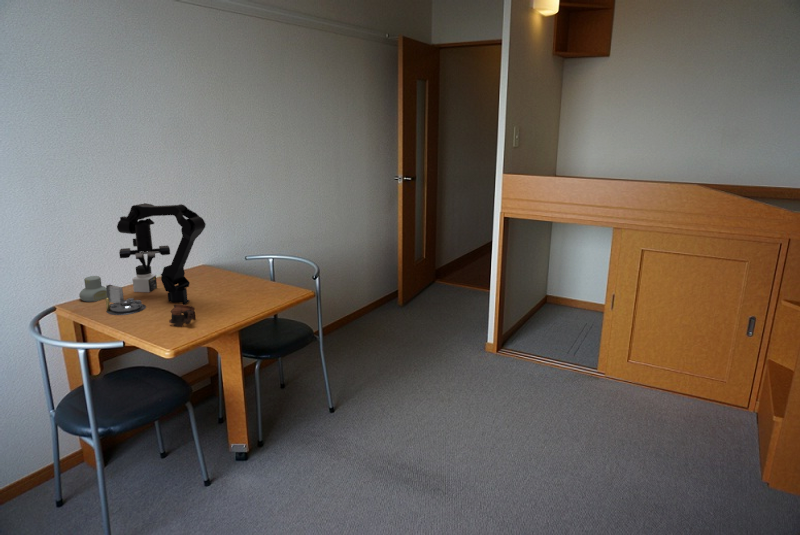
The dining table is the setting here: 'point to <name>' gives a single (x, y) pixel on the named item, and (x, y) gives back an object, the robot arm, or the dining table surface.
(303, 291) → the dining table surface
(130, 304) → the grey studded disc
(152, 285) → the medicine bottle
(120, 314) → the flange
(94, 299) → the air freshener
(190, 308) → the pottery mug
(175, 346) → the dining table surface
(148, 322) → the dining table surface
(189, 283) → the robot arm
